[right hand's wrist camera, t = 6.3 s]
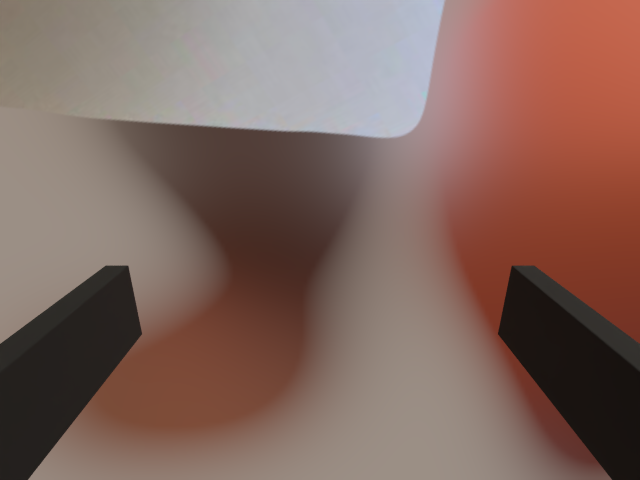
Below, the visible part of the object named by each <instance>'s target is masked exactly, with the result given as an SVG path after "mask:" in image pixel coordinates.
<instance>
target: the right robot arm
mask: <svg viewBox="0 0 640 480" xmlns="http://www.w3.org/2000/svg"><path fill="white" fill-rule="evenodd" d="M141 335H142V332H141V327H140V322H139V317H138V312H137V307H136V302H135V297H134V292H133V287H132V282H131V277H130V273H129V267H128V266H105V267H103V268H102V269H101V270H99V271H98V272H97V273H95V274H94V275H93V276H91V277H90V278H89V279H87V280H86V281H85V282H83V283H82V284H80V285H79V286H78V287H76V288H75V289H74V290H72V291H71V292H70V293H68V294H67V295H66V296H64V297H63V298H62V299H60V300H59V301H58V302H56V303H55V304H53V305H52V306H51V307H49V308H48V309H47V310H45V311H44V312H43V313H41V314H40V315H39V316H37V317H36V318H35V319H33V320H32V321H31V322H29V323H28V324H26V325H25V326H24V327H23V328H21V329H20V330H18V331H17V332H16V333H14V334H13V335H12V336H10V337H9V338H8V339H6V340H5V341H4V342H2V343H1V344H0V480H28V479H29V478H30V476H31V475H32V474H33V472H34V471H35V470H36V469H37V467H38V466H39V465H40V464H41V462H42V461H43V460H44V458H45V457H46V456H47V455H48V453H49V452H50V451H51V449H52V448H53V447H54V446H55V444H56V443H57V442H58V440H59V439H60V438H61V437H62V435H63V434H64V433H65V432H66V430H67V429H68V428H69V426H70V425H71V424H72V423H73V421H74V420H75V419H76V418H77V416H78V415H79V414H80V412H81V411H82V410H83V409H84V407H85V406H86V405H87V404H88V402H89V401H90V400H91V398H92V397H93V396H94V395H95V393H96V392H97V391H98V389H99V388H100V387H101V386H102V384H103V383H104V382H105V381H106V379H107V378H108V377H109V375H110V374H111V373H112V372H113V370H114V369H115V368H116V366H117V365H118V364H119V363H120V361H121V360H122V359H123V358H124V356H125V355H126V354H127V352H128V351H129V350H130V349H131V347H132V346H133V345H134V343H135V342H136V341H137V340H138V338H139V337H140V336H141ZM498 335H499V336H500V337H501V338H502V340H503V341H504V342H505V344H506V345H507V346H508V347H509V349H510V350H511V351H512V353H513V354H514V355H515V356H516V358H517V359H518V360H519V361H520V363H521V364H522V365H523V367H524V368H525V369H526V370H527V372H528V373H529V374H530V375H531V377H532V378H533V379H534V381H535V382H536V383H537V384H538V386H539V387H540V388H541V390H542V391H543V392H544V393H545V395H546V396H547V397H548V398H549V400H550V401H551V402H552V404H553V405H554V406H555V407H556V409H557V410H558V411H559V412H560V414H561V415H562V416H563V418H564V419H565V420H566V421H567V423H568V424H569V425H570V427H571V428H572V429H573V430H574V432H575V433H576V434H577V435H578V437H579V438H580V439H581V440H582V442H583V443H584V444H585V446H586V447H587V448H588V449H589V451H590V452H591V453H592V455H593V456H594V457H595V458H596V460H597V461H598V462H599V463H600V465H601V466H602V467H603V469H604V470H605V471H606V472H607V474H608V475H609V476H610V477H611V479H612V480H640V344H639V343H638V342H636V341H635V340H634V339H632V338H631V337H630V336H628V335H627V334H626V333H624V332H623V331H622V330H620V329H619V328H618V327H616V326H615V325H614V324H612V323H611V322H609V321H608V320H607V319H605V318H604V317H603V316H601V315H600V314H599V313H597V312H596V311H595V310H593V309H592V308H591V307H589V306H588V305H587V304H585V303H584V302H582V301H581V300H580V299H578V298H577V297H576V296H574V295H573V294H572V293H570V292H569V291H568V290H566V289H565V288H564V287H562V286H561V285H560V284H558V283H557V282H555V281H554V280H553V279H551V278H550V277H549V276H547V275H546V274H545V273H543V272H542V271H541V270H539V269H538V268H537V267H535V266H512V267H511V272H510V277H509V282H508V287H507V292H506V297H505V302H504V307H503V312H502V317H501V322H500V327H499V332H498Z"/></svg>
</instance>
